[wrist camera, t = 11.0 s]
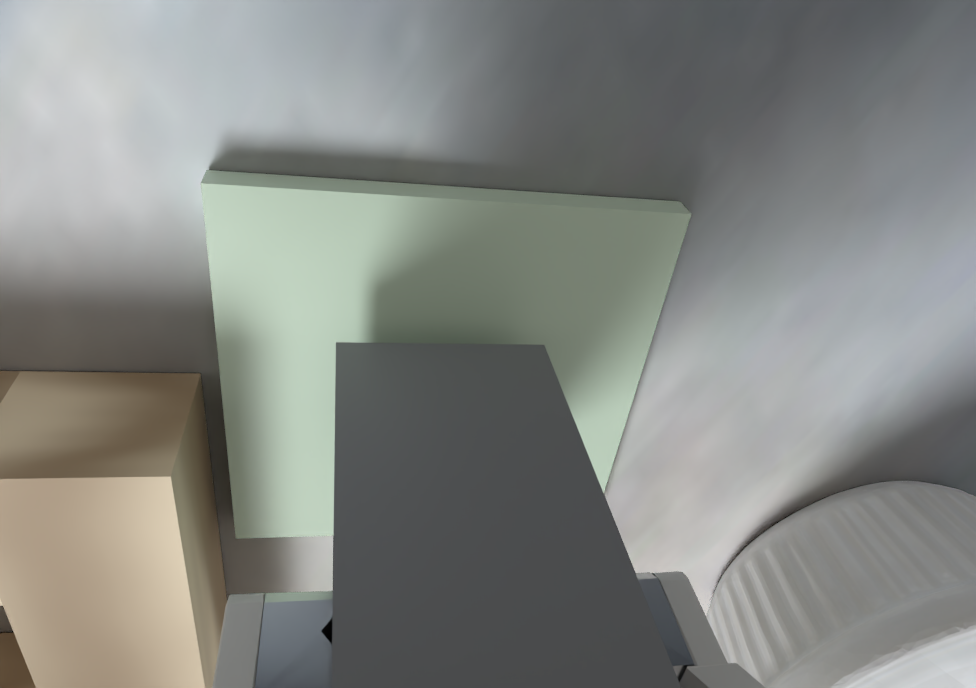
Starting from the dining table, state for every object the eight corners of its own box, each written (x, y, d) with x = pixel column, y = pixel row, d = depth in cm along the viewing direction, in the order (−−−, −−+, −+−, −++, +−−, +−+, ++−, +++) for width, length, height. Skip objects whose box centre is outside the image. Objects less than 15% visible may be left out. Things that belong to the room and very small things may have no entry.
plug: (555, 336, 14) (798, 901, 7) (521, 494, 16) (668, 1036, 9) (324, 333, 13) (302, 985, 6) (324, 501, 15) (308, 1110, 8)
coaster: (680, 201, 14) (691, 213, 14) (587, 510, 19) (593, 527, 19) (206, 170, 13) (200, 183, 12) (239, 519, 18) (235, 538, 17)
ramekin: (1082, 480, 22) (1254, 630, 18) (863, 679, 28) (955, 830, 24) (804, 415, 19) (937, 585, 14) (615, 659, 24) (671, 834, 20)
